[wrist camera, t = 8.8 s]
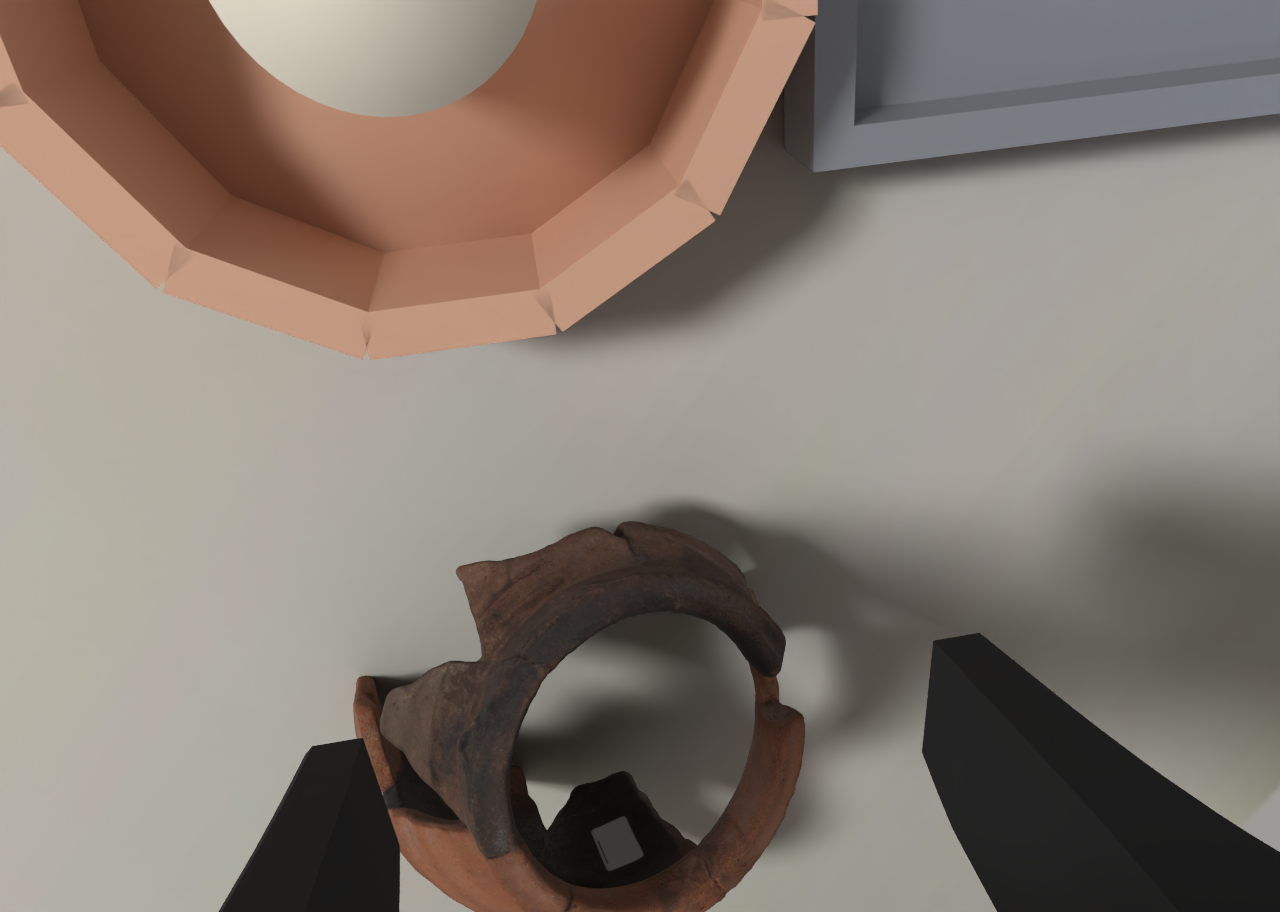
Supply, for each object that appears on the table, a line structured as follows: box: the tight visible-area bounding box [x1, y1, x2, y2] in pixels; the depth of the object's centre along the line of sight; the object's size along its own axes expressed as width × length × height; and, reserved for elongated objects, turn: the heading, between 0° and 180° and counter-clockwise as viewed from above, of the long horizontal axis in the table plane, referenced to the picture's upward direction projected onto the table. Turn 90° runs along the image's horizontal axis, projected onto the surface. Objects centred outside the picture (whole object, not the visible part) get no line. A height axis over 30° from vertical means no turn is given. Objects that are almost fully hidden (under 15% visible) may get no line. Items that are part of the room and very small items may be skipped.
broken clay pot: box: [353, 521, 805, 912], centre depth 22 cm, size 12×10×8 cm
